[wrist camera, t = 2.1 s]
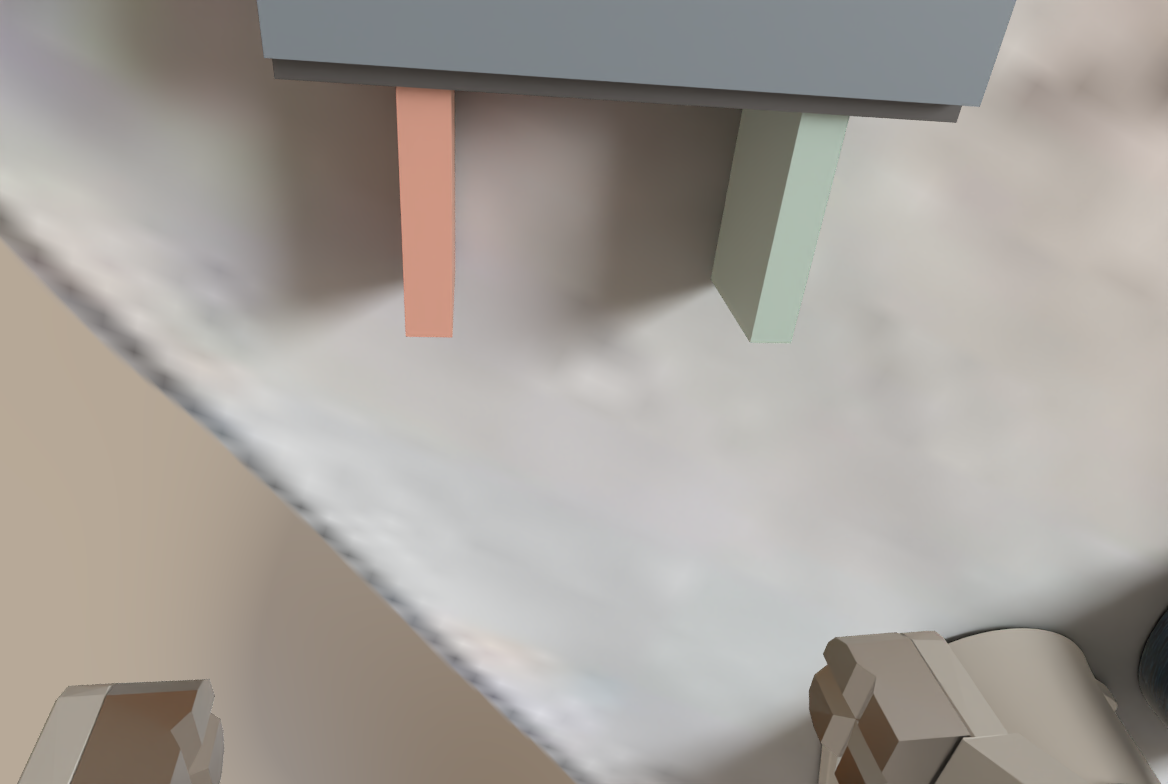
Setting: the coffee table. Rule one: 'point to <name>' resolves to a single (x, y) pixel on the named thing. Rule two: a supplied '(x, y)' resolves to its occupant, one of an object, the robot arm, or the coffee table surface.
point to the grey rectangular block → (656, 50)
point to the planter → (1156, 670)
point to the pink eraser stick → (427, 208)
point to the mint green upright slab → (774, 217)
